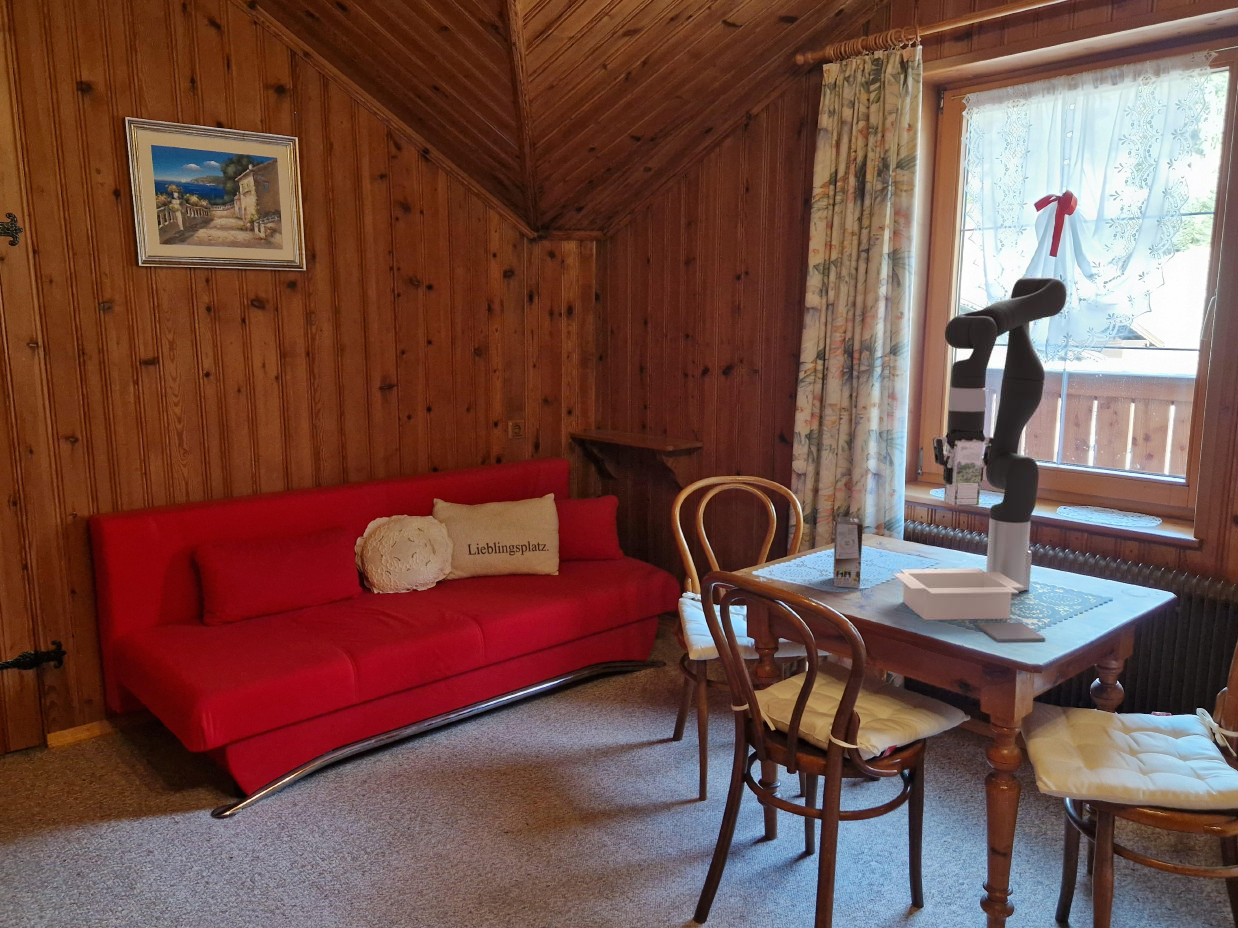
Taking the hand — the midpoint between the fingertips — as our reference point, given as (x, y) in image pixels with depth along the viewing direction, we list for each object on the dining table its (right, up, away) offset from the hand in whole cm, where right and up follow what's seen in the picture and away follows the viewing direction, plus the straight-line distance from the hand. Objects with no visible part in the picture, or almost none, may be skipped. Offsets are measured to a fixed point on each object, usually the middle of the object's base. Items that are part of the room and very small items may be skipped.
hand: (962, 483), depth 203 cm
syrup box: (0, -5, +1) cm, 5 cm away
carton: (0, -29, +4) cm, 29 cm away
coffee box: (-19, -26, +26) cm, 41 cm away
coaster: (+6, -31, -11) cm, 34 cm away
